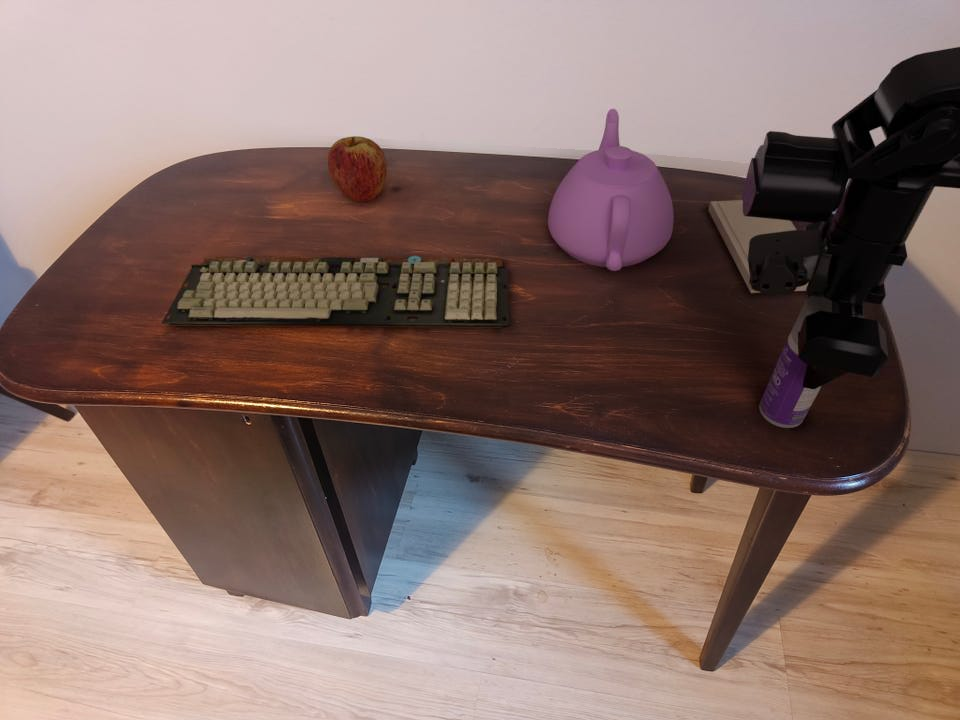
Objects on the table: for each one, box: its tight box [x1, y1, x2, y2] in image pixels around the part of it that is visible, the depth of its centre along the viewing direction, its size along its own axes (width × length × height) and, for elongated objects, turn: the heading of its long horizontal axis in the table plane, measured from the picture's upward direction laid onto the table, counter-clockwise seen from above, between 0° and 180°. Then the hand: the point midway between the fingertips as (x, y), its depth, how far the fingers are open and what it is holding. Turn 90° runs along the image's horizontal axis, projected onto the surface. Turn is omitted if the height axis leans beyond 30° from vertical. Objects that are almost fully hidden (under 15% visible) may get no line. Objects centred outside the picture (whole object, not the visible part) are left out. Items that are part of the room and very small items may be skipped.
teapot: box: [547, 108, 675, 272], centre depth 90 cm, size 25×18×14 cm
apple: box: [327, 135, 388, 203], centre depth 100 cm, size 9×9×10 cm
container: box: [758, 296, 832, 429], centre depth 64 cm, size 5×5×15 cm
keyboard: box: [161, 255, 511, 329], centre depth 86 cm, size 45×15×2 cm, turn 88°
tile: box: [708, 199, 808, 294], centre depth 90 cm, size 20×10×2 cm, turn 2°
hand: (808, 356), depth 64 cm, fingers open, 8 cm apart
